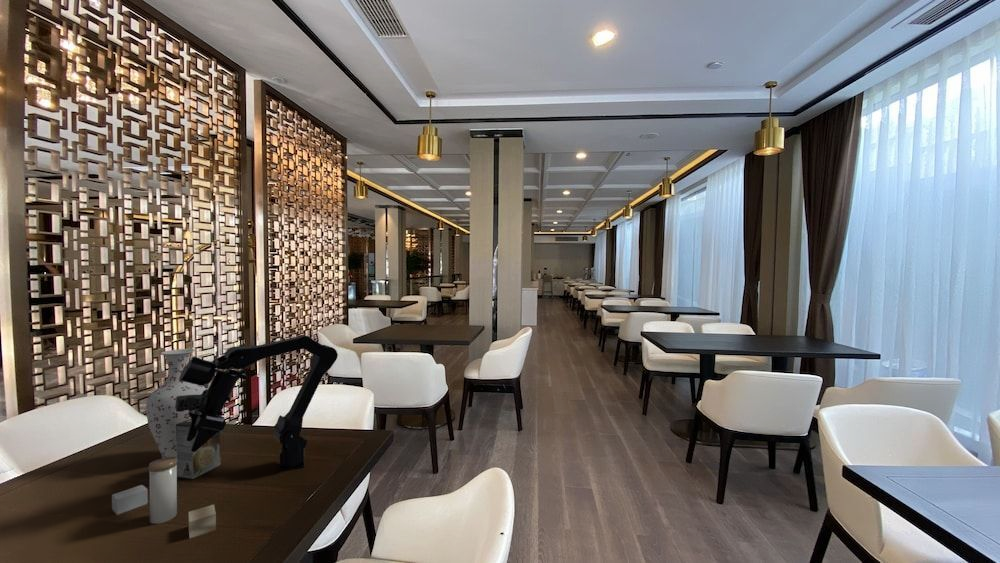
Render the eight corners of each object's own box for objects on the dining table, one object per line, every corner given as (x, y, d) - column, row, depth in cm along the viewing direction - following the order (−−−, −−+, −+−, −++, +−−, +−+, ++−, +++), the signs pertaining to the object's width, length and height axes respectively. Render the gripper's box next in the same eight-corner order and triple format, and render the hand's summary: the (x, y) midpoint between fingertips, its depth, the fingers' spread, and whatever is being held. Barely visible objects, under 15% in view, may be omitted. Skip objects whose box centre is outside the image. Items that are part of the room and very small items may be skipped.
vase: (144, 472, 123) (144, 358, 122) (147, 454, 135) (147, 350, 135) (210, 458, 133) (209, 352, 132) (207, 441, 145) (206, 345, 145)
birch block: (214, 520, 100) (214, 504, 100) (215, 530, 96) (215, 513, 96) (188, 528, 97) (188, 511, 97) (189, 539, 93) (189, 521, 93)
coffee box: (205, 463, 129) (204, 413, 129) (221, 465, 128) (220, 414, 127) (176, 477, 120) (175, 423, 120) (193, 479, 119) (192, 425, 119)
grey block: (142, 499, 109) (142, 484, 109) (147, 504, 106) (147, 489, 106) (112, 510, 104) (111, 494, 104) (117, 515, 101) (117, 499, 101)
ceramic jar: (180, 509, 104) (180, 455, 104) (173, 520, 99) (173, 464, 99) (153, 514, 102) (153, 459, 102) (145, 526, 97) (145, 468, 97)
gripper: (183, 376, 116) (153, 430, 112) (192, 389, 103) (158, 452, 98) (225, 386, 123) (198, 437, 119) (238, 400, 110) (208, 459, 105)
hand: (190, 446), depth 110 cm, fingers open, 9 cm apart
